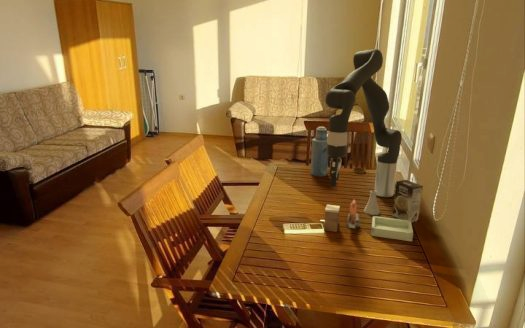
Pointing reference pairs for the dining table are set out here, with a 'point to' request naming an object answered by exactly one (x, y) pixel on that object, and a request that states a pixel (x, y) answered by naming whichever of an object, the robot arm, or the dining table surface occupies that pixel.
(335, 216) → the block
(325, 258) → the dining table surface
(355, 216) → the crank
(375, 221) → the tray
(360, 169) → the place setting
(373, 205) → the flask
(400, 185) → the coffee box
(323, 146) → the bottle
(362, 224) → the dining table surface
